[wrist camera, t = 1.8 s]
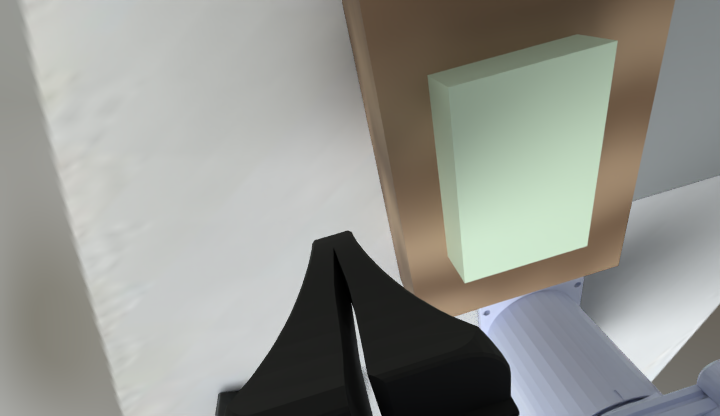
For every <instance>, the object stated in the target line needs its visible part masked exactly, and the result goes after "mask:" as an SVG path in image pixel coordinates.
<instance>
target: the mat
mask: <svg viewBox="0 0 720 416" xmlns="http://www.w3.org/2000/svg"><path fill="white" fill-rule="evenodd" d="M719 175H720V0H675V4H674V8H673V13H672V18H671V22H670V27H669V32H668V36H667V41H666V46H665V50H664V55H663V60H662V64H661V69H660V74H659V78H658V83H657V88H656V92H655V97H654V102H653V106H652V111H651V115H650V120H649V125H648V129H647V134H646V139H645V143H644V148H643V153H642V157H641V162H640V167H639V171H638V176H637V181H636V185H635V190H634V195H633V199H632V201H636V200H639V199H642V198H645V197H649V196H652V195H655V194H659V193H662V192H665V191H669V190H672V189H675V188H679V187H682V186H685V185H689V184H692V183H695V182H699V181H702V180H705V179H709V178H712V177H715V176H719Z"/></svg>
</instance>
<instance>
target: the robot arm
mask: <svg viewBox="0 0 720 416" xmlns="http://www.w3.org/2000/svg"><path fill="white" fill-rule="evenodd" d="M583 282H584V276H583V277H580V278H577V279H574V280H570V281H567V282H564V283H561V284H557V285H554V286H551V287H548V288H545V289H541V290H538V291H535V292H532V293H528V294H525V295H522V296H519V297H515V298H512V299H509V300H506V301H503V302H499V303H496V304H493V305H490V306H486V307H483V308H480V309H478V318H479V327H477V326H475V325H472V324H470V323H467V322H465V321H462V320H460V319H457V318H455V317H453V316H451V315H449V314H447V313H445V312H443V311H441V310H439V309H437V308H435V307H434V306H432V305H430V304H429V303H427V302H425V301H423V300H422V299H420V298H418V297H417V296H415V295H414V294H412V293H411V292H409V291H408V290H406V289H405V288H404V287H402V286H401V285H400V284H398V283H397V282H396V281H395V280H393V279H392V278H391V277H390V276H389V275H388V274H386V273H385V272H384V271H383V270H382V269H381V268H380V267H379V266H378V265H377V264H376V263H375V262H374V261H373V260H372V259H371V258H370V257H369V256H368V255H367V254H366V252H365V251H364V250H363V249H362V248H361V246H360V245H359V244H358V242H357V241H356V239H355V238H354V236H353V234H352V232H350V231H345V232H341V233H338V234H335V235H331V236H328V237H324V238H321V239H318V240H315V241H314V242H313V244H312V250H311V256H310V260H309V264H308V268H307V271H306V274H305V278H304V281H303V284H302V287H301V289H300V292H299V295H298V297H297V300H296V302H295V305H294V307H293V309H292V312H291V314H290V316H289V318H288V320H287V322H286V324H285V326H284V328H283V329H282V331H281V333H280V335H279V336H278V338H277V340H276V342H275V343H274V345H273V347H272V348H271V350H270V351H269V353H268V354H267V356H266V357H265V359H264V360H263V361H262V363H261V364H260V366H259V367H258V369H257V370H256V371H255V373H254V374H253V375H252V377H251V378H250V379H249V381H248V382H247V383H246V384H245V385H244V386H243V388H242V389H241V390H240V391H239V392H238V394H237V395H236V396H235V397H234V398H233V399H232V401H231V402H230V403H229V404H228V405H227V406H226V410H225V414H224V416H373V415H372V411H371V407H370V403H369V399H368V395H367V391H366V386H365V382H364V378H363V374H362V370H361V365H360V359H359V353H358V346H357V339H356V332H355V325H354V318H353V311H352V306H353V308H354V311H355V315H356V319H357V324H358V329H359V334H360V338H361V343H362V348H363V353H364V359H365V364H366V369H367V374H368V377H369V380H370V383H371V386H372V389H373V392H374V395H375V398H376V401H377V404H378V407H379V409H380V412H381V415H382V416H720V359H719V360H716V361H714V362H712V363H709V364H708V365H707V366H706V367H704V368H703V369H702V371H701V372H700V374H699V376H698V379H697V384H695V385H692V386H689V387H686V388H683V389H681V390H678V391H674V392H671V393H668V394H665V395H663V394H662V393H661V392H660V391H659V390H658V389H657V388H656V387H655V386H654V385H653V384H652V383H651V382H650V381H649V380H648V378H647V377H646V376H645V375H644V374H643V373H642V372H641V371H640V370H639V369H638V368H637V367H636V366H635V365H634V364H633V363H632V362H631V361H630V359H629V358H628V357H627V356H626V355H625V354H624V353H623V352H622V351H621V350H620V349H619V348H618V347H617V346H616V345H615V344H614V343H613V342H612V340H611V339H610V338H609V337H608V336H607V335H606V334H605V333H604V332H603V331H602V330H601V329H600V328H599V327H598V326H597V325H596V324H595V323H594V321H593V320H592V319H591V318H590V317H589V316H588V315H587V314H586V313H585V312H584V311H583V310H582V309H581V308H580V302H581V295H582V289H583ZM351 303H352V304H351Z"/></svg>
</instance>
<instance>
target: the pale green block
mask: <svg viewBox="0 0 720 416" xmlns="http://www.w3.org/2000/svg"><path fill="white" fill-rule="evenodd" d="M617 43H618V41H617V40H611V39H605V38H598V37H592V36H586V35H579V34H576V35H572V36H569V37H565V38H561V39H558V40H554V41H550V42H547V43H543V44H539V45H536V46H532V47H529V48H525V49H521V50H518V51H514V52H510V53H507V54H503V55H499V56H496V57H492V58H488V59H485V60H481V61H478V62H474V63H470V64H467V65H463V66H459V67H456V68H452V69H448V70H445V71H441V72H437V73H434V74H430V75H427V76H428V85H429V94H430V103H431V112H432V121H433V129H434V138H435V147H436V156H437V165H438V174H439V183H440V191H441V200H442V209H443V218H444V227H445V236H446V245H447V253H448V258H449V259H450V261H451V262H452V264H453V265H454V267H455V269H456V270H457V272H458V273H459V275H460V276H461V278H462V280H463V281H464V283H468V282H471V281H474V280H478V279H481V278H484V277H487V276H491V275H494V274H497V273H501V272H504V271H507V270H510V269H514V268H517V267H520V266H523V265H527V264H530V263H533V262H537V261H540V260H543V259H546V258H550V257H553V256H556V255H559V254H563V253H566V252H569V251H573V250H576V249H579V248H582V247H586V246H587V244H588V237H589V231H590V224H591V217H592V210H593V204H594V197H595V190H596V184H597V177H598V170H599V163H600V157H601V150H602V143H603V137H604V130H605V123H606V117H607V110H608V103H609V96H610V90H611V83H612V76H613V70H614V63H615V56H616V49H617Z"/></svg>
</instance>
